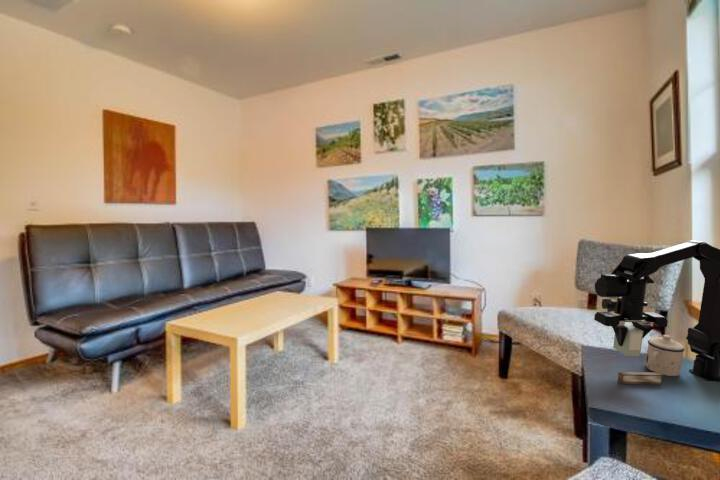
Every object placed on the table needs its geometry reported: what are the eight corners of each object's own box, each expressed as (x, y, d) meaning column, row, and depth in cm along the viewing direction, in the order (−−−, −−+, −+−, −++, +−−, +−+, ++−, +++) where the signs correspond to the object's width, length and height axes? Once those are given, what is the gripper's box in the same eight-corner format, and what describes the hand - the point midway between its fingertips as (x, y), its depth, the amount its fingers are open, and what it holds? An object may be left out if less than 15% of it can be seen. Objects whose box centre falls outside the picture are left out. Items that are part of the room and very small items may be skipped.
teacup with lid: (653, 361, 125) (657, 328, 123) (686, 373, 117) (691, 338, 115) (633, 368, 119) (638, 334, 118) (667, 381, 111) (672, 345, 110)
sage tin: (625, 347, 116) (628, 323, 115) (640, 356, 110) (643, 331, 109) (613, 347, 116) (615, 323, 115) (627, 356, 110) (630, 330, 109)
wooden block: (657, 381, 111) (658, 372, 111) (661, 384, 109) (662, 375, 109) (617, 381, 111) (618, 371, 111) (621, 384, 109) (622, 374, 109)
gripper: (643, 289, 119) (637, 335, 121) (585, 289, 119) (581, 335, 121) (672, 300, 108) (665, 350, 110) (608, 299, 108) (603, 349, 110)
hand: (627, 345), depth 113 cm, fingers closed on sage tin, 4 cm apart
